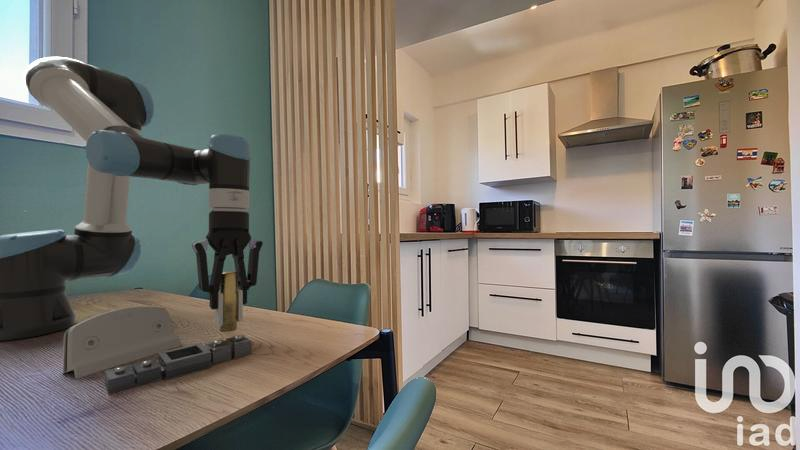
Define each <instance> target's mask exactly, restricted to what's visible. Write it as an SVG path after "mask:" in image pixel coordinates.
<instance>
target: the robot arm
mask: <svg viewBox="0 0 800 450" xmlns="http://www.w3.org/2000/svg"><path fill="white" fill-rule="evenodd" d="M23 80H24V85H25V87H26V89H27V90H28V92H29V94H30V95H31V96H32V97H33V98H34V99H35V100H36V101H37V102H38V103H39V104H40V105H42V106H43V107H45V108H48V109H49V110H51V111H55V113H56V114H58V116H60V118H62V120H64V121H65V122H66V123H67V125H68V126H70V127H71V128H72V129H73V130H74V131H75V132H76V133H77V134H78V135H79V136H80V137H81V138H82V139H83V140H84V141H85V142H86V145H85V156H86V159H87V161H88V162H87V170H86V171H87V172H86V182H85V183H86V185H85V196H84V197H85V198H84V199H85V200H84V210H83V219H82V221H80V223H77V225H75V226H74V233H73V234H67V232H66V231H65V230H64V229H48V230H36V231H35V230H34V231H26V232H17V233H16V232H15V233H9V234H2V235H0V342H1V341H11V340H12V341H13V340H21V339H25V338H26V339H27V338H32V337H37V336H38V337H39V336H42V335H47V334H51V333H55V332H59V331H63V330H67V329H69V328H70V327H72V326H74V325H76V324H77V321H76V318H77V317H76V315H77V314H76V312H75V311H74V309H73V307H72V305H71V302H70V301H69V298H68V296H67V294H66V291H67V290H66V284H67V283H66V282H72V281H79V280H86V279H88V280H89V279H97V278H105V277H106V278H111V277H114V276H119V275H125V274H128V273H129V272H131V271H132V270H133V269H134V268H135V267H136V266H137V264H138V262H139V261H140V257H141V253H142V252H141V251H142V246H141V243H140V242H141V241H140V238H139V237H138V236H137V235H136V234H134V233H133V228H132V227H131V226H130V225H128V223H127V215H128V214H127V212H128V203H129V202H128V201H129V194H130V193H129V190H130V189H129V188H130V180H131V177H133V178H141V179H143V178H144V179H151V180H152V179H153V180H161V181H168V182H175V183H178V184H181V185H187V186H189V185H190V186H197V185H205V184H209V185H208V208H210V209H211V210H212V211H209V213H208V233H207V234H206V237H205V238H204V239H203V240H200V241H198V242H196V241H194V242H192V244H191V246H192V250H193V251H194V253H195V256H196V257H195V258H196V266H197V268H196V269H197V278H198V281H197V282H198V289H199V290H200V291H203V292H204V293H208V294H209V308H210V309H211V310H214V324H215V325H217V327H220V326H221V325H223V293H221V292H220V283H221V277H222V272H224V271H223V270H224V266H225V261H226V260H227V259H226V258H227V256H229V255H232V259H233V263H234V269H235V271H236V272H238V282H237V323H242V322H243V316H244V315H243V312H244V311H243V307H244V305H247V303H248V290H249V289H250V288H251V287H254V286H256V285H257V282H258V281H257V280H258V271H259V270H258V269H259V261H260V260H259V258H260V251H261V249H262V246H263V244H264V242H263V241H261V240H256V239H255V238H252V235H251V234H250V213H249V212H248V211H247V210H249V209H250V172H251V171H250V170H251V169H250V167H251V162H250V161H251V157H250V156H251V155H250V144H249V141H248V140H247V139H245V137H242V136H239V135H234V134H227V133H215V134H212V135H211V137H209V141H208V147H207V148H191V147H186V146H183V145H178V144H173V143H172V144H171V143H167V142H163V141H159V140H154V139H150V138H145V137H144V136H142V135H141V132H142V127H143V128H144V127H147V126H149V124H151V122H152V119H153V117H154V114H155V113H154V111H155V105H154V100H153V96H152V94H151V92H150V91H149V89H148V88H147V87H146V86H145V85H144V84H142V83H141V82H139V81H136V80H134V79H131V78H129V77H128V76H123V75H122V74H118V73H115V72H112V71H109V70H105V69H103V68H100V67H97V66H95V65H92V64H87V63H85V62H83V61H80V60H78V59H74V58H70V57H65V56H64V57H62V56H47V57H43V58H42V57H41V58H38V59H36V60H35V61H32V62H31V63H30V64H29V65H28V66H27V68H26V69H25V72H24V75H23ZM208 246H210V248H211V249H212V250H213V251H214V255H213V266H212V270H211V271H212V272H211V276H210V279H209V270H208V269H209V266H208V256H207V252H206V251H208ZM247 246H248V248H249V253H248V262H247V271H246V265H245V255H244V254H245V253H244V251H245V249H246V247H247ZM246 272H247V273H246Z"/></svg>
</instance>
